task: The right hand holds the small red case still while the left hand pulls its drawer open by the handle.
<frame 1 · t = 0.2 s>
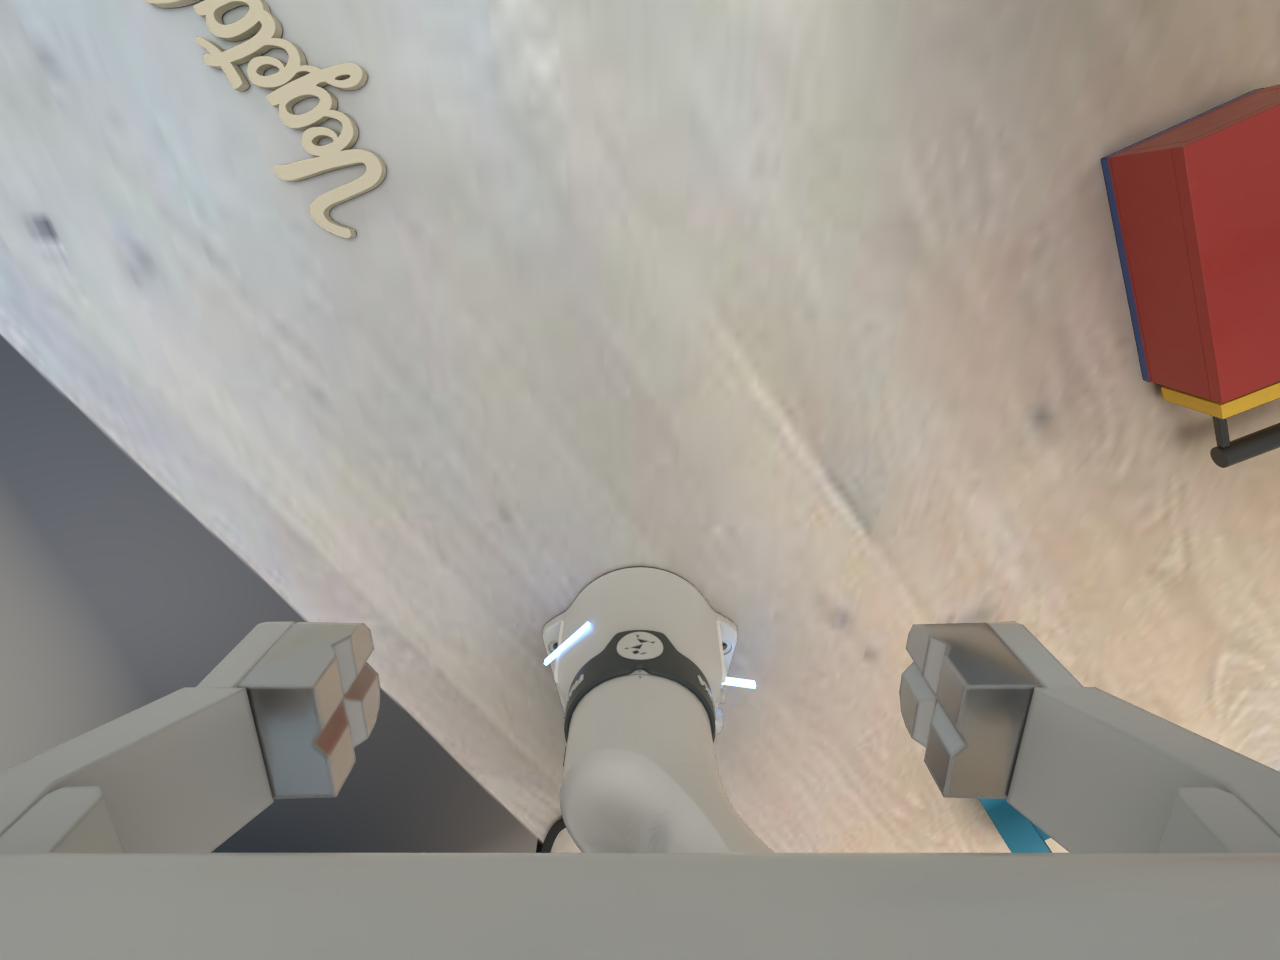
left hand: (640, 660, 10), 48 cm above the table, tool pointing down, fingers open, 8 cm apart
drawer: (1247, 312, 51), point 4 cm above the table, slide at 0.7 cm
red case: (1195, 245, 53), on the table
camera mount: (1011, 753, 71), on the table
decorative sign: (265, 48, 49), on the table
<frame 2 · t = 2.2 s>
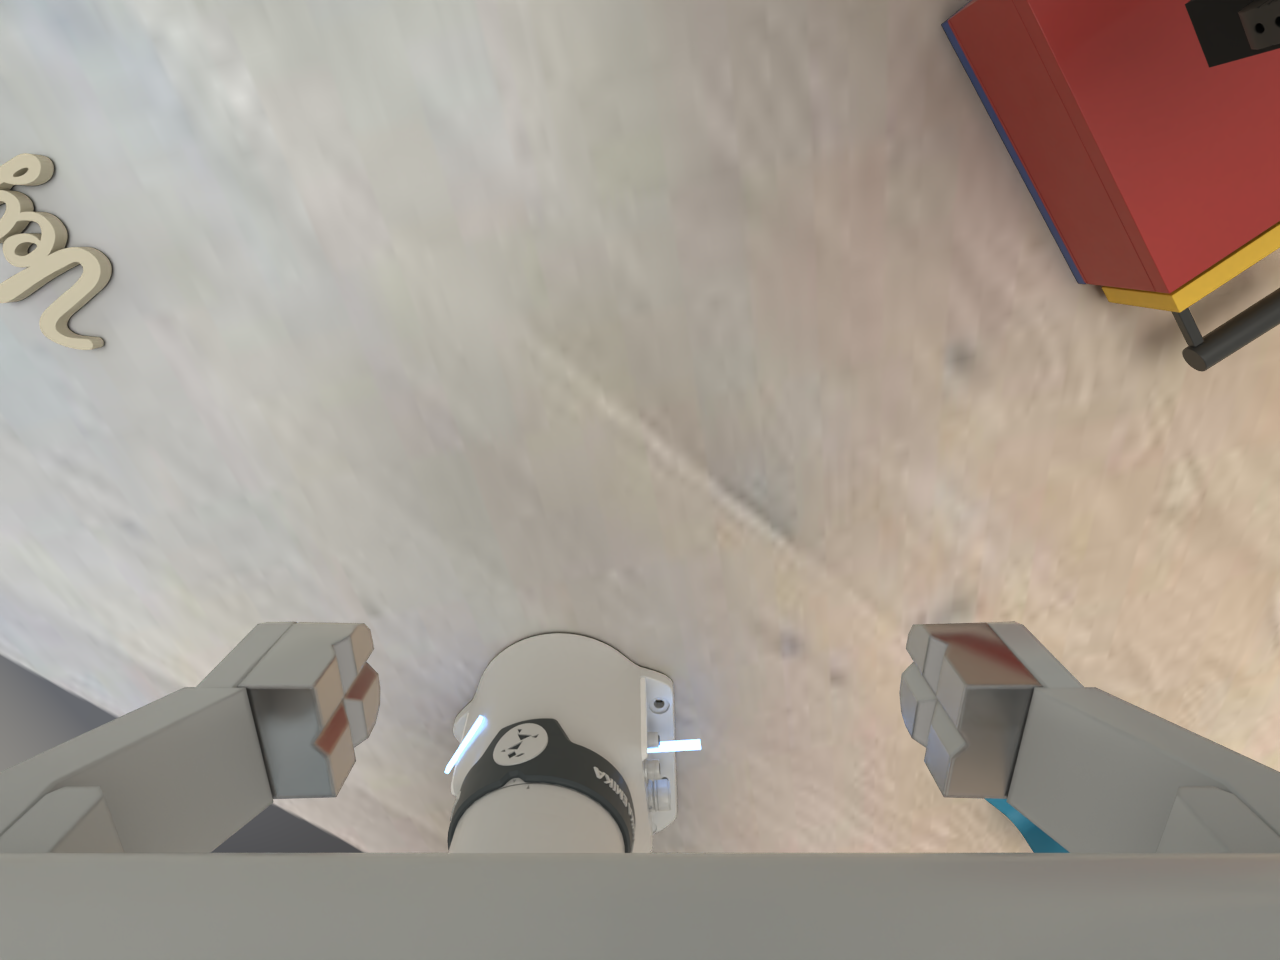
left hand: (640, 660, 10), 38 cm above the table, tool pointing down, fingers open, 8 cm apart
drawer: (1181, 168, 39), point 4 cm above the table, slide at 0.7 cm
red case: (1097, 99, 41), on the table
camera mount: (1043, 756, 59), on the table
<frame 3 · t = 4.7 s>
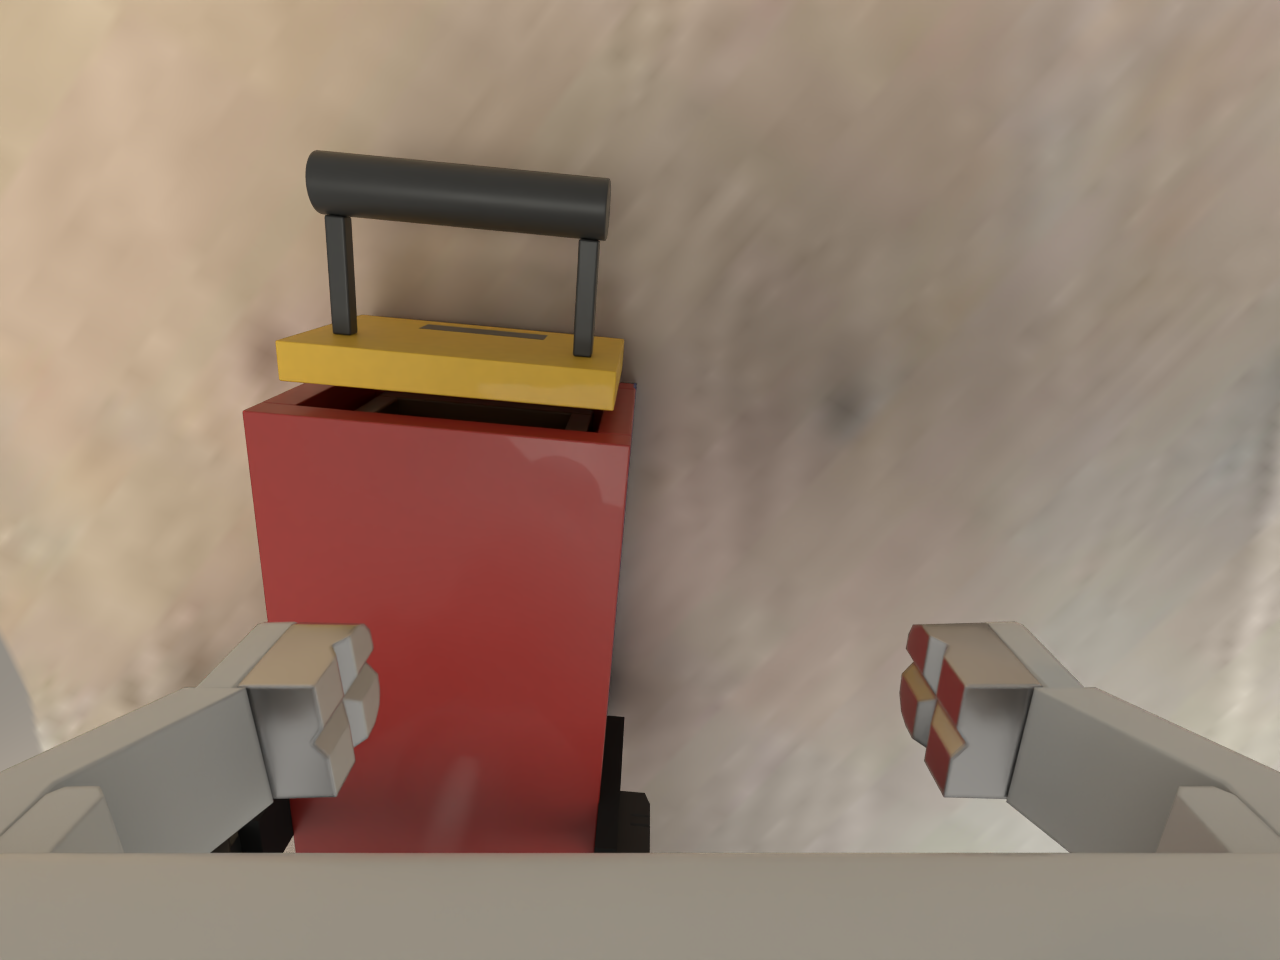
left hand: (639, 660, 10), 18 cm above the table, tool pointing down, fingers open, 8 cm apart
drawer: (472, 503, 25), point 4 cm above the table, slide at 0.7 cm
red case: (494, 574, 30), on the table, touching right hand
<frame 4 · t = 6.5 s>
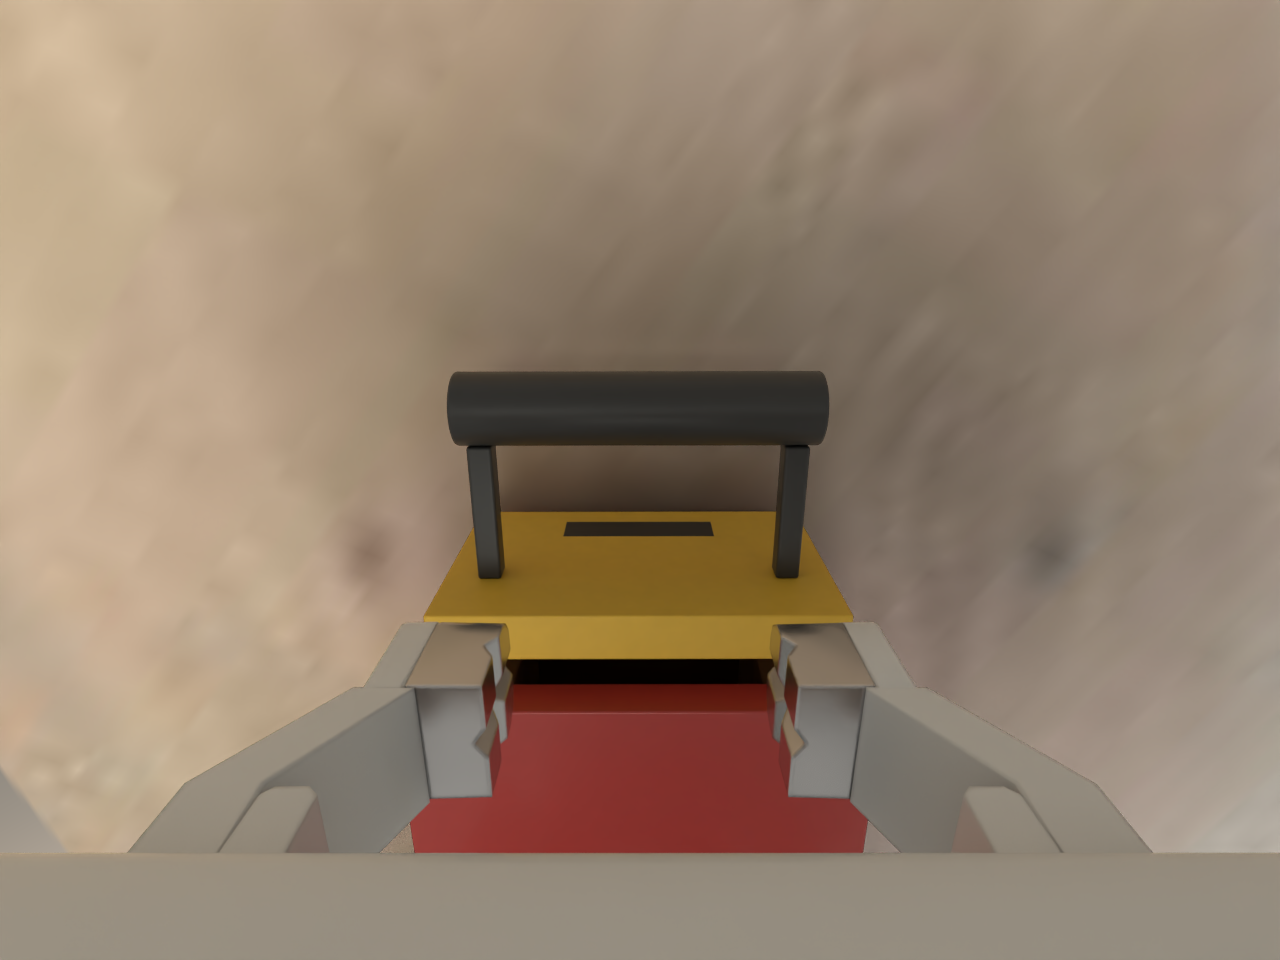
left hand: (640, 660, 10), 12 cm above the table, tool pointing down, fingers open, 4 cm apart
drawer: (638, 731, 21), point 4 cm above the table, slide at 0.7 cm
red case: (639, 765, 26), on the table, touching right hand
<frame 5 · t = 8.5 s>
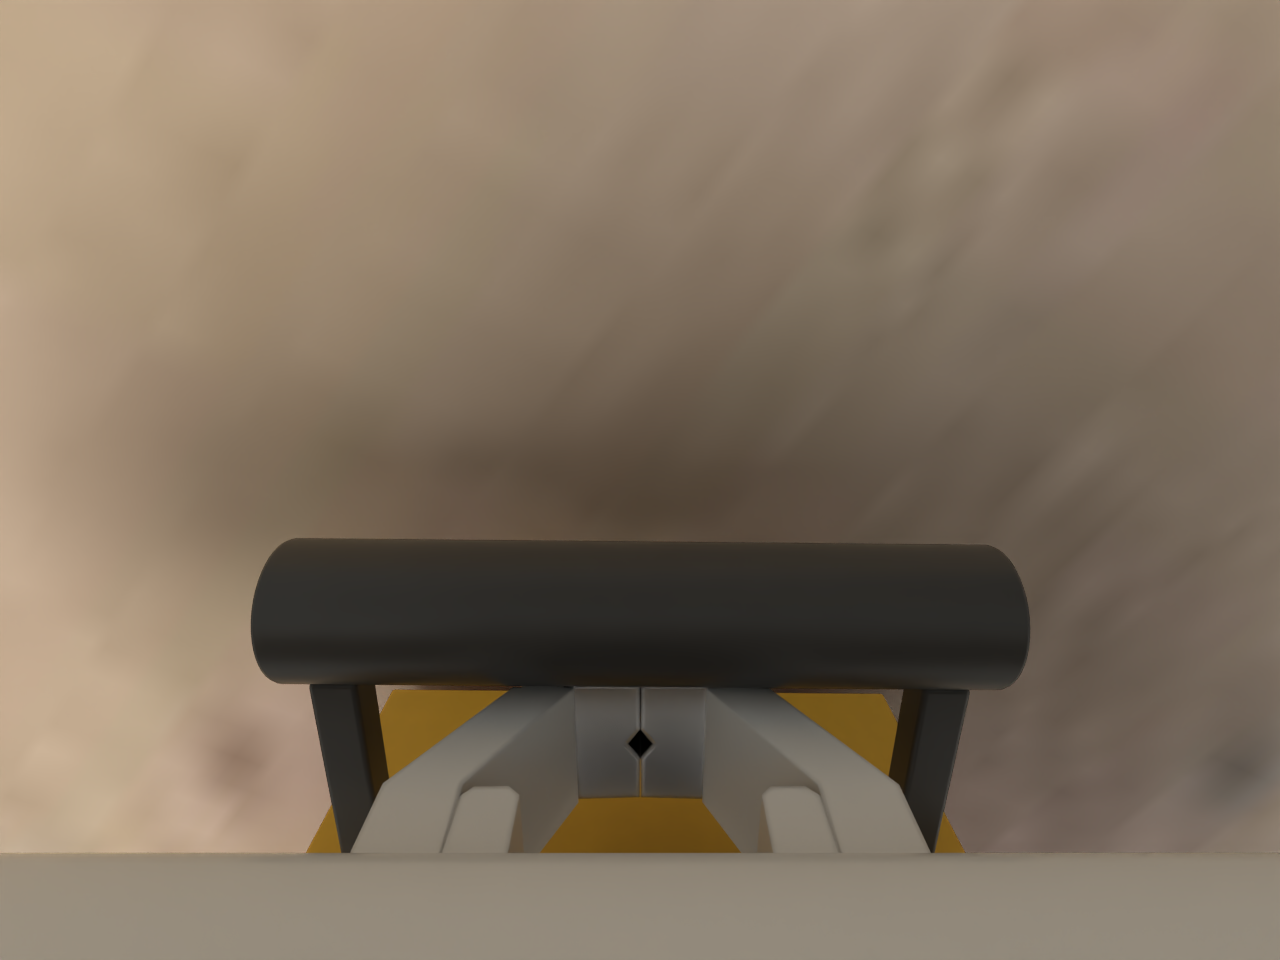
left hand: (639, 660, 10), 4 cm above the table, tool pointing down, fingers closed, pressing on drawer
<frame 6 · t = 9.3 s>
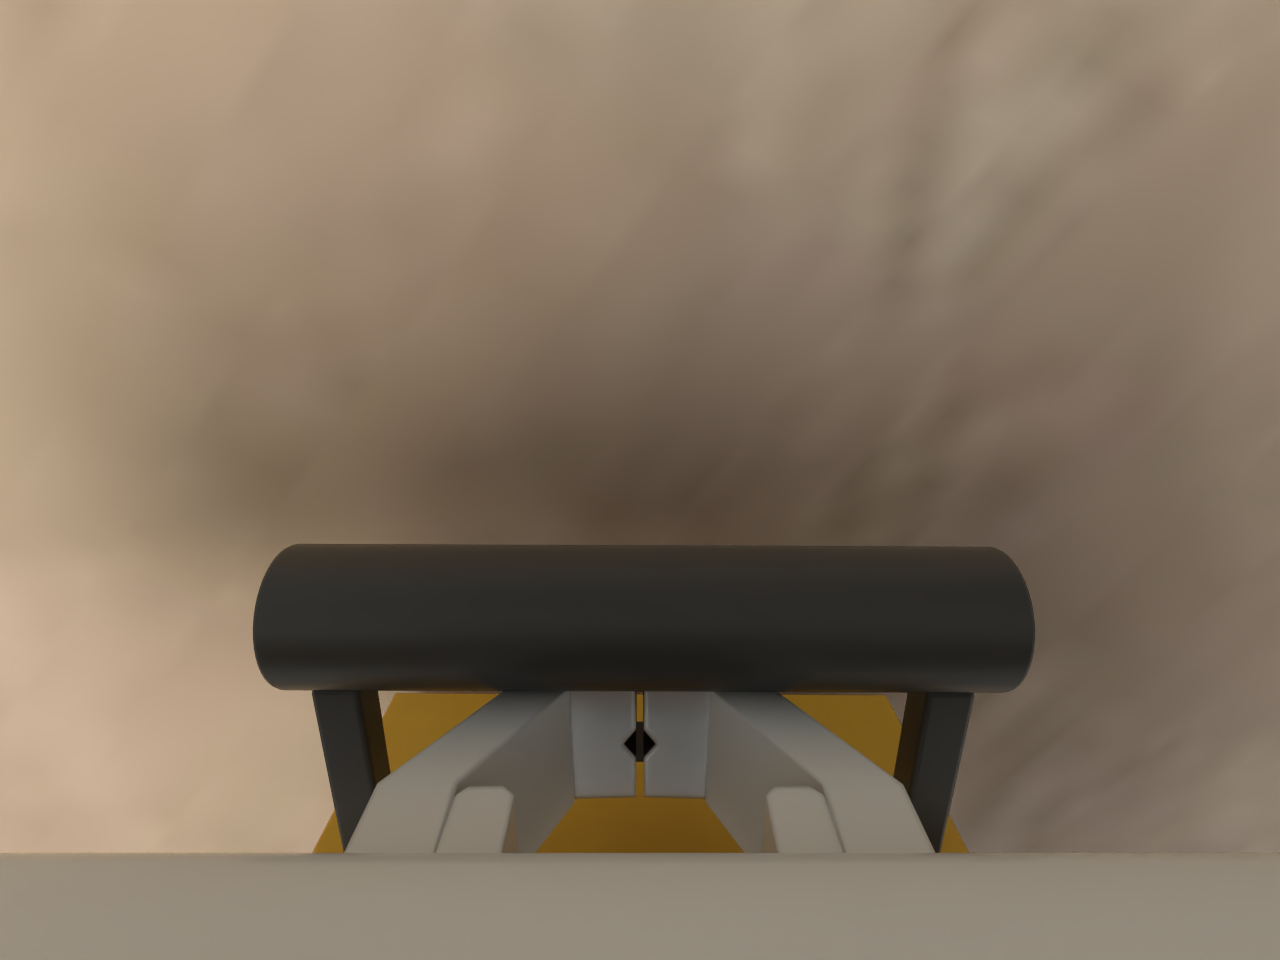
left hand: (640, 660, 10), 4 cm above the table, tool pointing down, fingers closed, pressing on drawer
when the right hand's fingers open (4 cm above the table, at t = 11.1 s): red case stays where it is, on the table.
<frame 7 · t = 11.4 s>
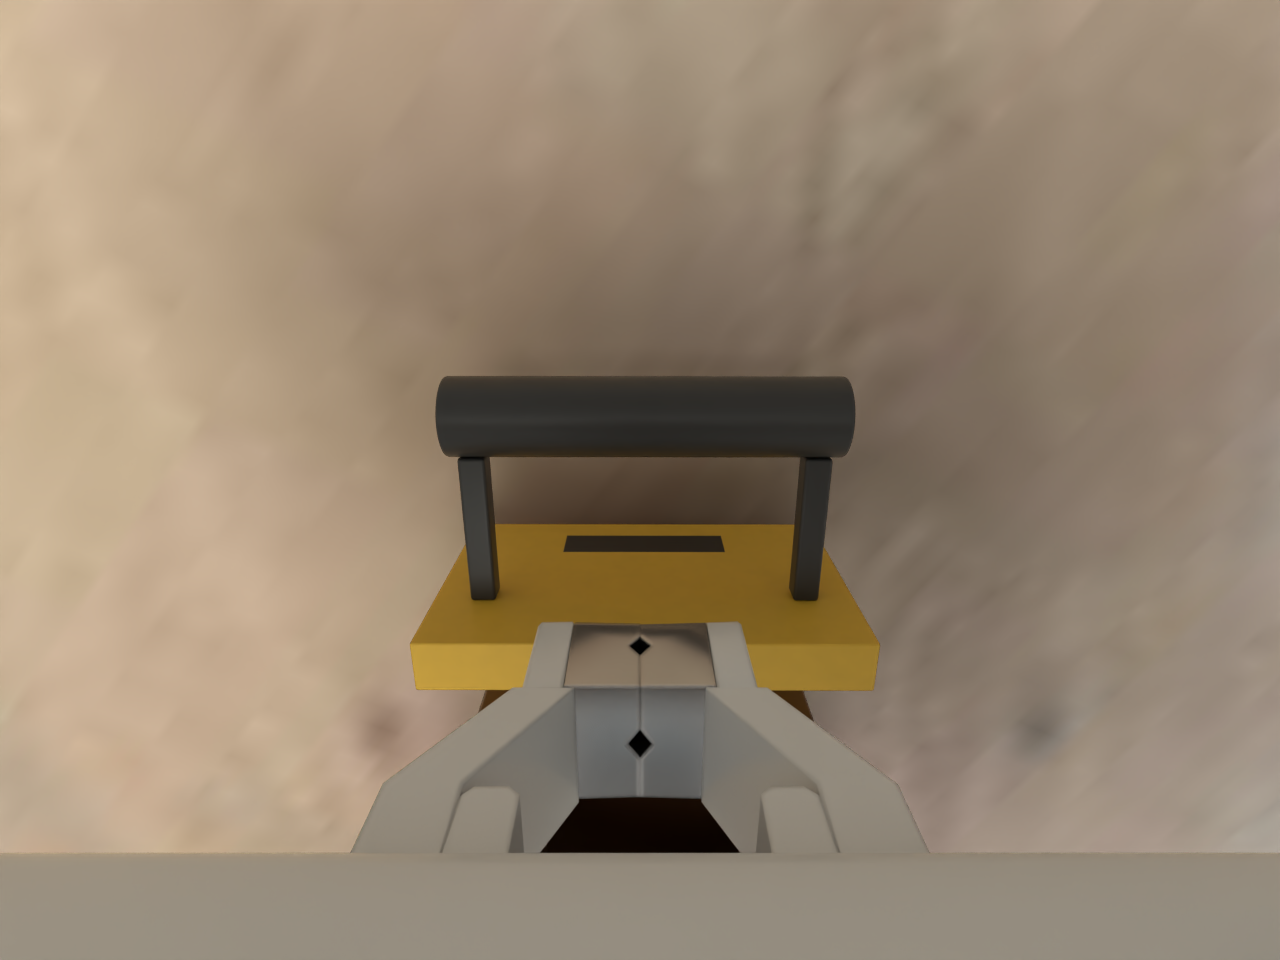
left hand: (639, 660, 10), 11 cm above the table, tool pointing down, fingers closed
drawer: (643, 760, 19), point 4 cm above the table, slide at 7.0 cm
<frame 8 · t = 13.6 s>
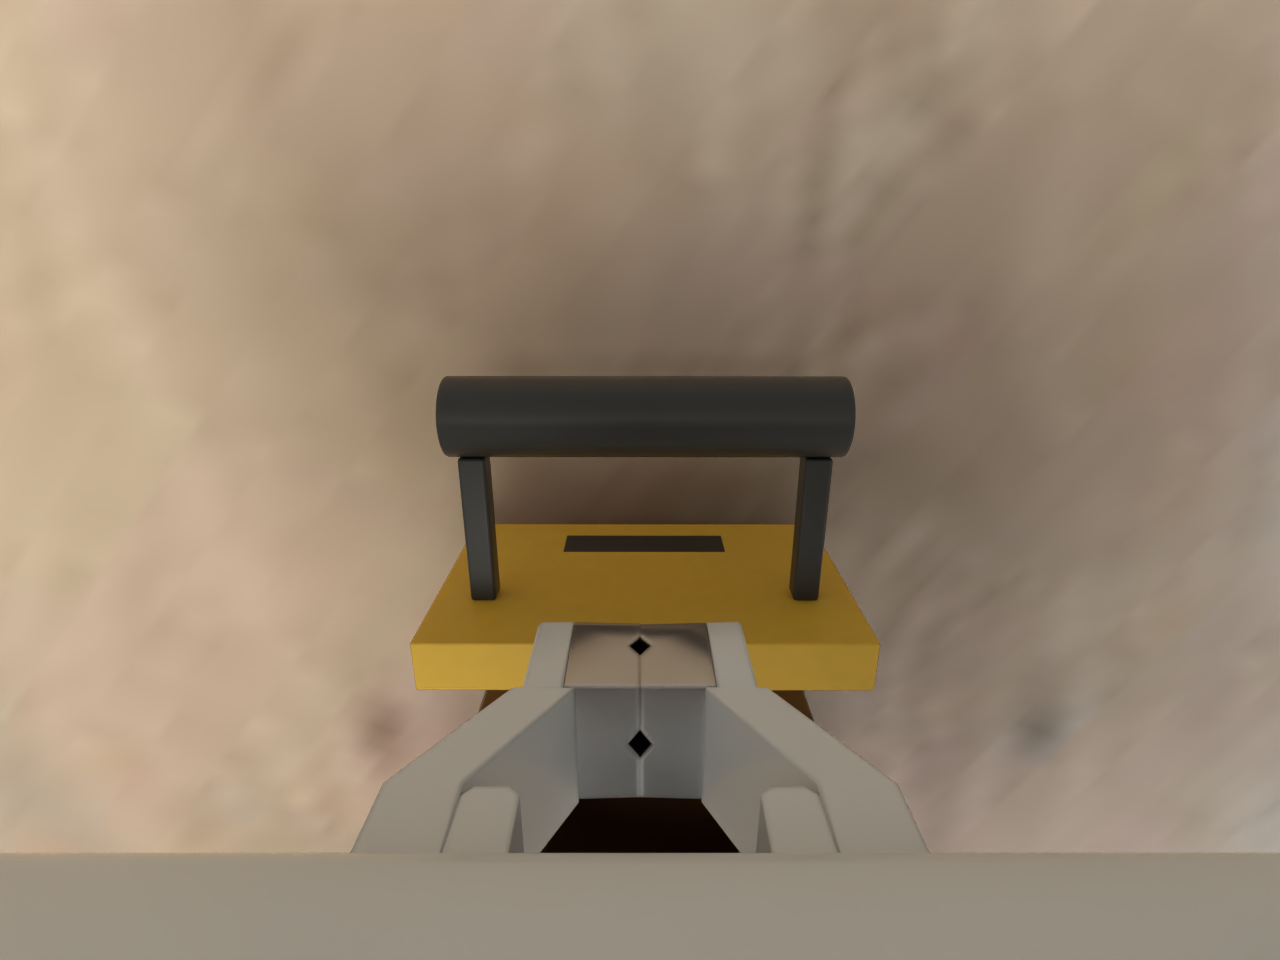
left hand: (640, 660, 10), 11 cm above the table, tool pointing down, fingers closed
drawer: (643, 760, 19), point 4 cm above the table, slide at 7.0 cm
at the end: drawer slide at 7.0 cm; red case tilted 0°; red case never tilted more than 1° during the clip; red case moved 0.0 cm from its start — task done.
